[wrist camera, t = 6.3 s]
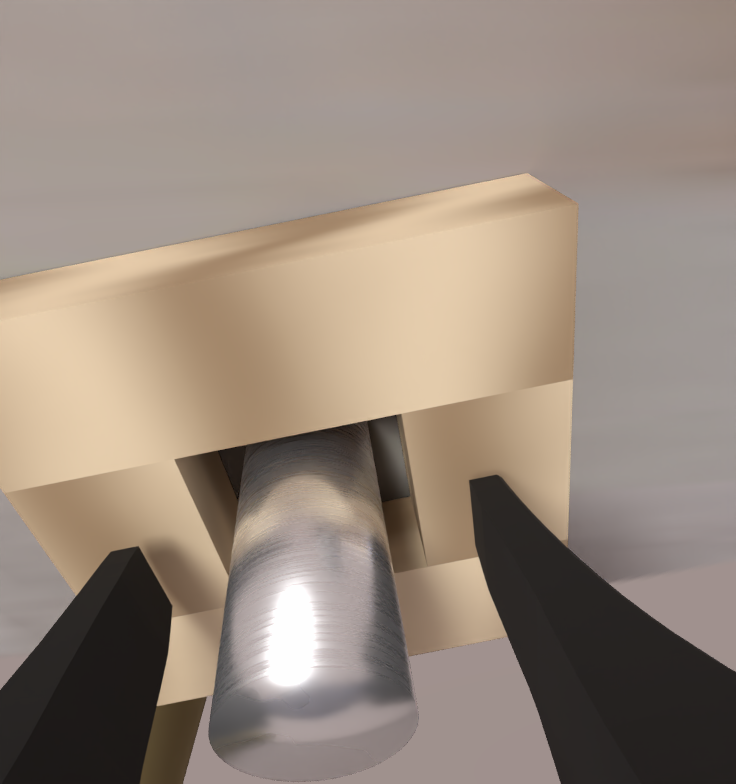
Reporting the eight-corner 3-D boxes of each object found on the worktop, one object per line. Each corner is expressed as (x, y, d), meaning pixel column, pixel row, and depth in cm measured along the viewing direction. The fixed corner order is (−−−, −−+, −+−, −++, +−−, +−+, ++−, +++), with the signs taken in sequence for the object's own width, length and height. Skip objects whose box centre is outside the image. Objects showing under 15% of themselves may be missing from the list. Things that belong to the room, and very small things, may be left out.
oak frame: (527, 173, 12) (578, 204, 10) (533, 555, 18) (564, 625, 16) (-30, 285, 12) (-104, 341, 10) (171, 627, 18) (154, 706, 16)
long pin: (366, 381, 14) (420, 656, 8) (370, 478, 16) (417, 767, 10) (238, 392, 14) (189, 683, 8) (256, 489, 16) (227, 792, 9)
